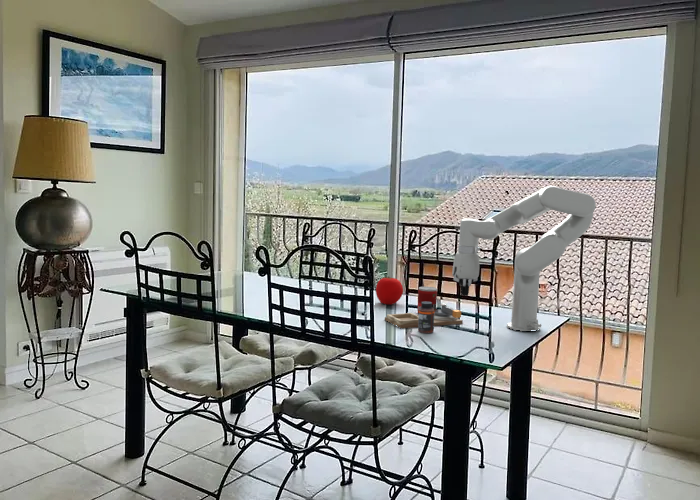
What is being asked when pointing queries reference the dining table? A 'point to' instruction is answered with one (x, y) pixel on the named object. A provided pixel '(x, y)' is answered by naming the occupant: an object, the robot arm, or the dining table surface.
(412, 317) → the board
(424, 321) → the supplement bottle
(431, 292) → the canned food
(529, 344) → the dining table surface
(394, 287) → the tomato
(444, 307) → the grey lever handle
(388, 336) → the dining table surface
